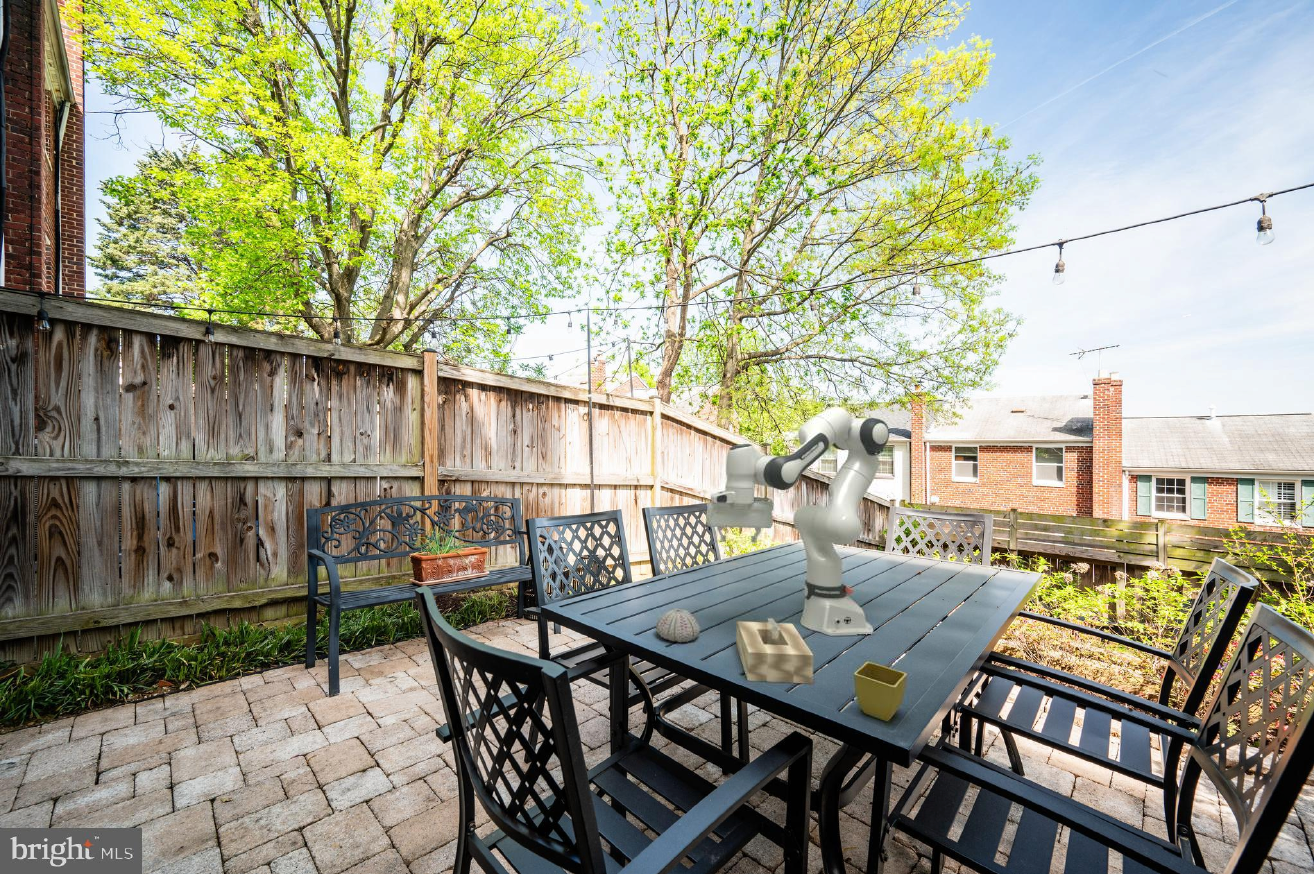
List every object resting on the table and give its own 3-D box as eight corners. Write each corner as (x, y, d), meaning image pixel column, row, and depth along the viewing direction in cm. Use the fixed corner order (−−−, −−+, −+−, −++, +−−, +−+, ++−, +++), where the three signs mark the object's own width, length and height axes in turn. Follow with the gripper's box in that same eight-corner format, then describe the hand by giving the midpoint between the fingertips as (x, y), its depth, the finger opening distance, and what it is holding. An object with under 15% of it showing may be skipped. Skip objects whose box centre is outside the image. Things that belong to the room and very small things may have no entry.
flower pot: (894, 730, 105) (895, 686, 105) (852, 714, 111) (853, 672, 111) (906, 714, 112) (907, 673, 112) (866, 699, 118) (867, 661, 118)
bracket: (776, 654, 139) (777, 618, 139) (781, 665, 132) (783, 627, 132) (761, 654, 139) (762, 617, 140) (766, 665, 132) (767, 627, 133)
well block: (791, 647, 147) (792, 623, 147) (812, 683, 125) (813, 655, 125) (736, 645, 147) (737, 621, 147) (747, 680, 125) (748, 652, 125)
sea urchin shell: (673, 625, 162) (674, 600, 162) (708, 636, 153) (709, 610, 153) (646, 636, 152) (647, 609, 152) (682, 649, 143) (683, 621, 143)
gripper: (771, 496, 158) (770, 540, 158) (706, 494, 158) (704, 538, 158) (775, 498, 152) (774, 544, 151) (708, 497, 152) (706, 543, 152)
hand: (738, 541), depth 155 cm, fingers open, 8 cm apart
